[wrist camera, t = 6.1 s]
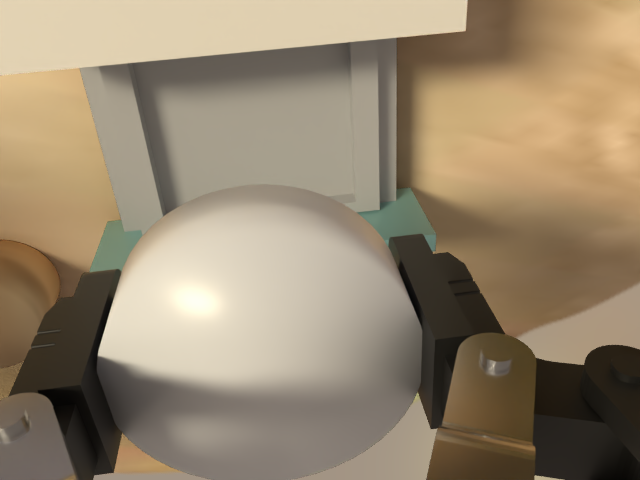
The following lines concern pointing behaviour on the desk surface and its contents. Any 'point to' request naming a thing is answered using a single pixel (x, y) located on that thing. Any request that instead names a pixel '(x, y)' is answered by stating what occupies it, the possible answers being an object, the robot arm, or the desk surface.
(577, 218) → the desk surface
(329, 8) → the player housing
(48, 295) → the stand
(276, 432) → the disc
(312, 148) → the tray
